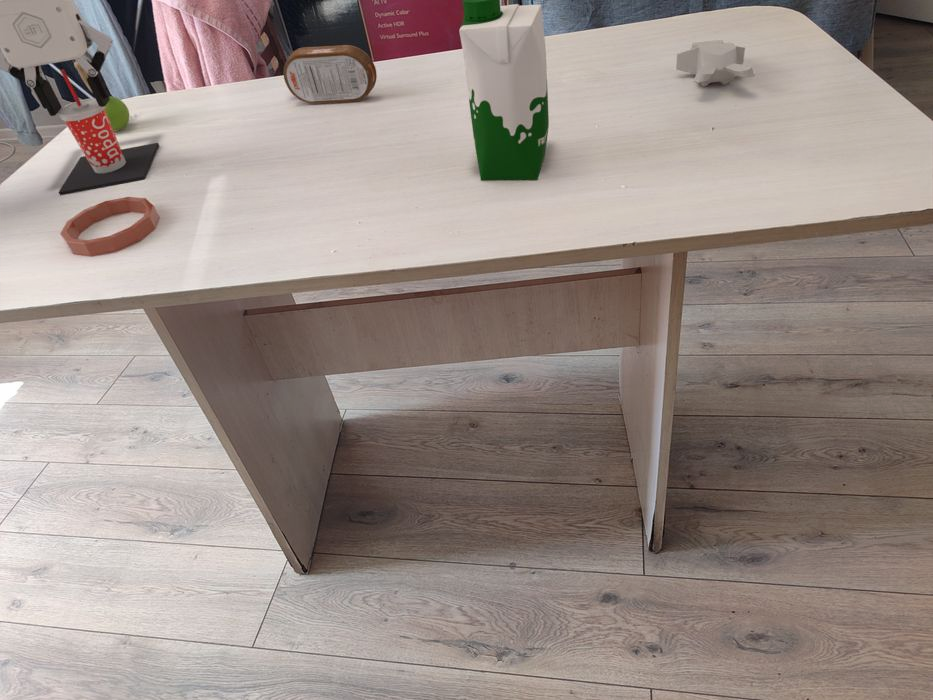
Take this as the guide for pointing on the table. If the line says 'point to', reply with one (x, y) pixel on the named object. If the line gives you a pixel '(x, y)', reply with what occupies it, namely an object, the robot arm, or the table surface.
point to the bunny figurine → (714, 62)
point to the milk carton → (506, 87)
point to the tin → (330, 74)
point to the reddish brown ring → (115, 240)
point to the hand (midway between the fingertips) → (80, 106)
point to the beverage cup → (92, 132)
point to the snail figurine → (110, 105)
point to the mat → (131, 171)
